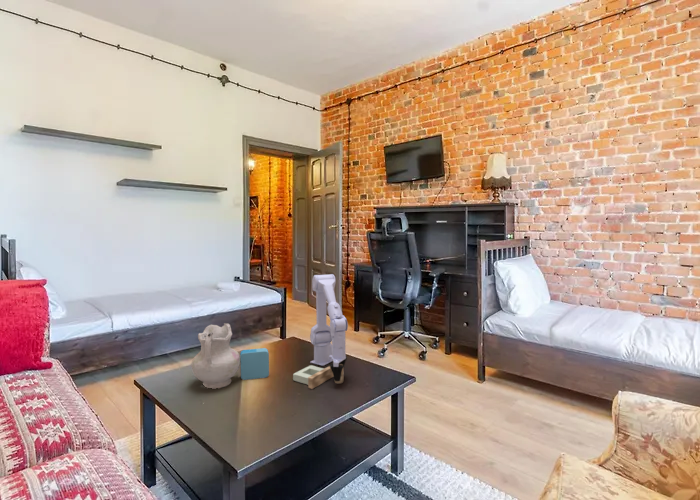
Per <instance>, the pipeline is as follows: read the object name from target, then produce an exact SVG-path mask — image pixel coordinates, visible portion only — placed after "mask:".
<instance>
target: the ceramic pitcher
mask: <svg viewBox="0 0 700 500" xmlns="http://www.w3.org/2000/svg"><path fill="white" fill-rule="evenodd" d="M231 326H232V325H231V324H230V323H226V322H224V323H223V325H222V326H219V325H217V324H209V325H207V326H206V327H205V328H204V330H203V332H199V333H198V334H197V339H198V341H199V343H200V346H201V347H200V351H198V353H196V355H195V356H194V357H193V358H192V361H191V363H190V365H191V366H190V367H191V371H192V374H193V375H194V377H195V378H196V379H198V381H201V382H202V384H203V385H204V386H205V387H207V388H206V389H208V388H212V390H213V389H215V390H216V388H218V389H221V388H224V387H227V386H230V384H232V383H231V382H232V377H234V376H235V375H236V374H237V373H238V371H239V368H240V367H241V365H240V353H239V352H238V351H237V350H235V349H234V348H232V347H231V346H230V344H231V338H232V336H233V331H232V328H231ZM203 385H202V386H203ZM204 386H203V387H204ZM205 387H204V388H205Z"/></svg>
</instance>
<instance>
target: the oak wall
mask: <svg viewBox="0 0 700 500" xmlns="http://www.w3.org/2000/svg"><path fill="white" fill-rule="evenodd" d="M333 378H334V375H333V372H332V370H331V368H330V365H328V366H327V367H325V368H324V369H323V370H321V371H319V372H317V373H315V374H314V375H312V376H310V377H308V387H307V388H308V389H311V390H314V388H316V387H319V386H320V385H321V384H324V383H326V381H328V380H329V381H330V380H331V379H333Z"/></svg>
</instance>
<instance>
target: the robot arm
mask: <svg viewBox="0 0 700 500" xmlns="http://www.w3.org/2000/svg"><path fill="white" fill-rule="evenodd" d="M311 280H312V282H311V283H312V284H311V286H312V291H313V292H315V297H316V298H315V301H316V303H315V307H316V308H315V309H316V324H314V325H313V326H312V327H311V328H310V336H309V339H310V343H311V344H312V345H313V360H310V362H309V363H310V364H314V365H319V366H322V367H324V366H325V365H327V364H329V363H330V365H329V366H330V368H331V370H332V372H333V375H334V377H333V381H334V380H335V381H340V378H341V372H342V369H343V367H344V368H345V364H346V361H347V359H348V356H347V355H346V332H347V331H348V327H349V326H348V325H349V323H348V320H347V318H346V317H345V315H343V311H342V308H341V305H340V304H339V302H337V300H336V299H337V298H336V293H335V287H336V283H337V281H336V276H335V274H333V273H330V274H314V275H313V277H312V279H311ZM327 304H328V305H327ZM327 313H328V317H329V320H330V321H329V325H328V323H327ZM331 362H332V363H331ZM340 364H342V365H340Z"/></svg>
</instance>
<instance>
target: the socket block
mask: <svg viewBox="0 0 700 500" xmlns="http://www.w3.org/2000/svg"><path fill="white" fill-rule="evenodd" d="M323 369H325V368H323V367H318V366H315V365H312V364H311V365H308V366H306V367H304V368H302V369H300V370H298V371H296V372H294V373H293V374H292V379H293V380H292V381H293V382H294V381H295V382H297V383H301V384H303V385H308V377H310V376H312V375H314V374H315V373H317V372H319V371H321V370H323Z"/></svg>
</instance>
